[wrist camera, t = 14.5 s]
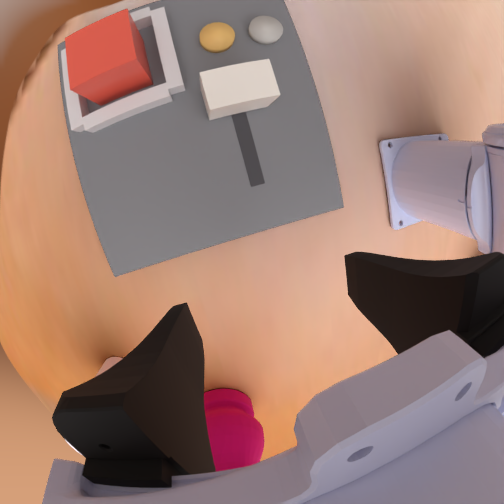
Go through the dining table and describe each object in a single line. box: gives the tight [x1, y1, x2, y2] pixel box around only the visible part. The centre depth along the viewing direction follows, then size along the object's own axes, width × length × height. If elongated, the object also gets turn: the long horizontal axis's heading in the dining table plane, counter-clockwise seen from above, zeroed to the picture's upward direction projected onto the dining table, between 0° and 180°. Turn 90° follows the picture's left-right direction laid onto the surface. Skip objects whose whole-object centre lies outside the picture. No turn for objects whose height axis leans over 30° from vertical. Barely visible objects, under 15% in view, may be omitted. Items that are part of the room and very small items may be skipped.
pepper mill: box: [204, 389, 264, 472], centre depth 16 cm, size 7×7×20 cm
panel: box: [58, 0, 344, 277], centre depth 16 cm, size 18×20×3 cm
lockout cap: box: [65, 9, 153, 106], centre depth 12 cm, size 4×4×5 cm
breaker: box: [199, 59, 280, 120], centre depth 14 cm, size 4×2×3 cm, turn 105°
